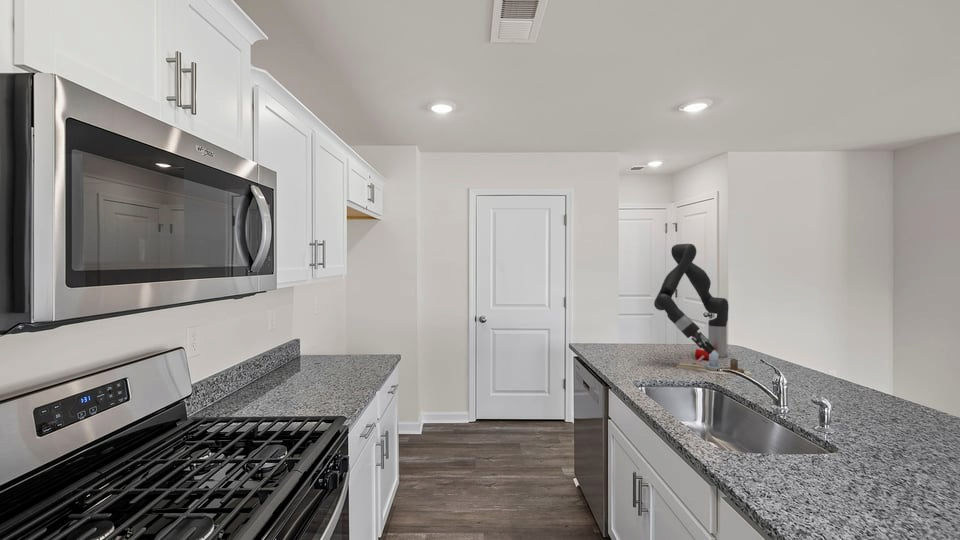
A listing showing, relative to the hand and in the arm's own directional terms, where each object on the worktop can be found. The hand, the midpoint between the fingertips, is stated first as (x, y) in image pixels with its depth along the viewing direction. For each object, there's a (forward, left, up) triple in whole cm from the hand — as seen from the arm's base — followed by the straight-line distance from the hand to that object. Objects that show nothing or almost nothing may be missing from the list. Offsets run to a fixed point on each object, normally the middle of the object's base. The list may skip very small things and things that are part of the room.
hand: (712, 351), depth 214 cm
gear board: (0, 0, -10) cm, 10 cm away
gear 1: (0, +1, -8) cm, 9 cm away
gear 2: (0, +9, -9) cm, 13 cm away
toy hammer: (-20, -8, -11) cm, 24 cm away
